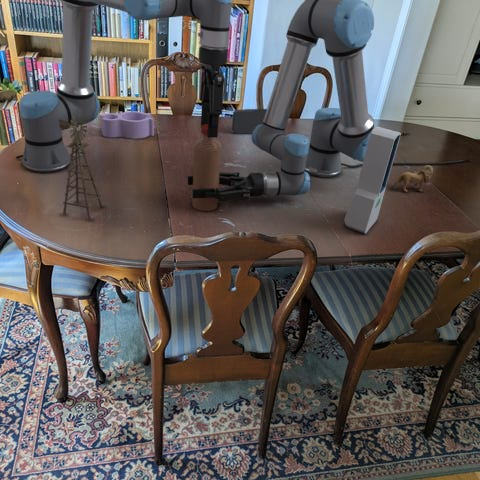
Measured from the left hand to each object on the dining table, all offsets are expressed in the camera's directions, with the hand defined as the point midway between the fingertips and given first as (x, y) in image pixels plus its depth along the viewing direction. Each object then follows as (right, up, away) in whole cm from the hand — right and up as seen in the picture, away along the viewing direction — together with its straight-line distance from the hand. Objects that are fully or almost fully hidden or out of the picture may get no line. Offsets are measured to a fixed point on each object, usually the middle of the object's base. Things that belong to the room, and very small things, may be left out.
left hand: (208, 132), depth 133 cm
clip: (-37, +13, +57) cm, 69 cm away
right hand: (-6, -15, +8) cm, 18 cm away
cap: (0, +1, -1) cm, 1 cm away
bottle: (-2, -20, +13) cm, 24 cm away
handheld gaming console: (+16, +16, +72) cm, 75 cm away
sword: (+77, +16, +81) cm, 113 cm away
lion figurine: (+71, -12, +36) cm, 81 cm away
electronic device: (+46, -26, +12) cm, 54 cm away
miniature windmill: (-37, -22, +3) cm, 43 cm away
